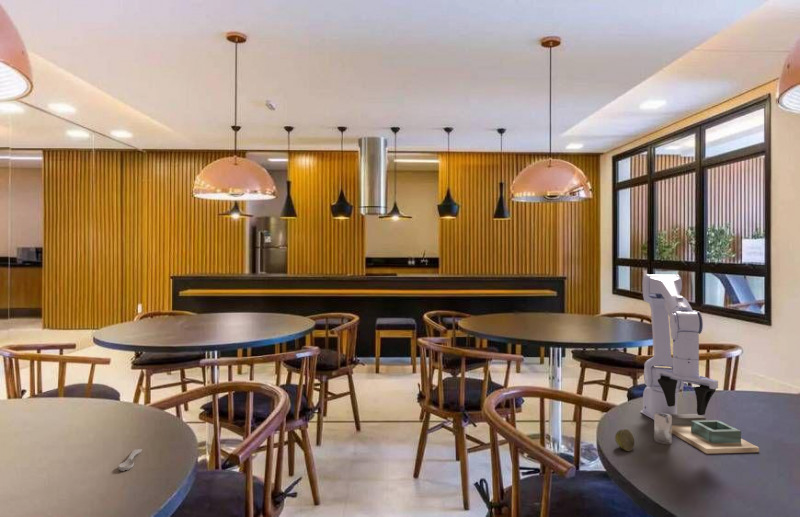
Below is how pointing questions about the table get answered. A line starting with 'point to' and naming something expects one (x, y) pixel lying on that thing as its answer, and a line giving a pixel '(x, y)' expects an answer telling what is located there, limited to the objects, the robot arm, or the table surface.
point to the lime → (625, 439)
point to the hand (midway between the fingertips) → (685, 410)
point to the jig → (710, 434)
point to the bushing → (663, 428)
